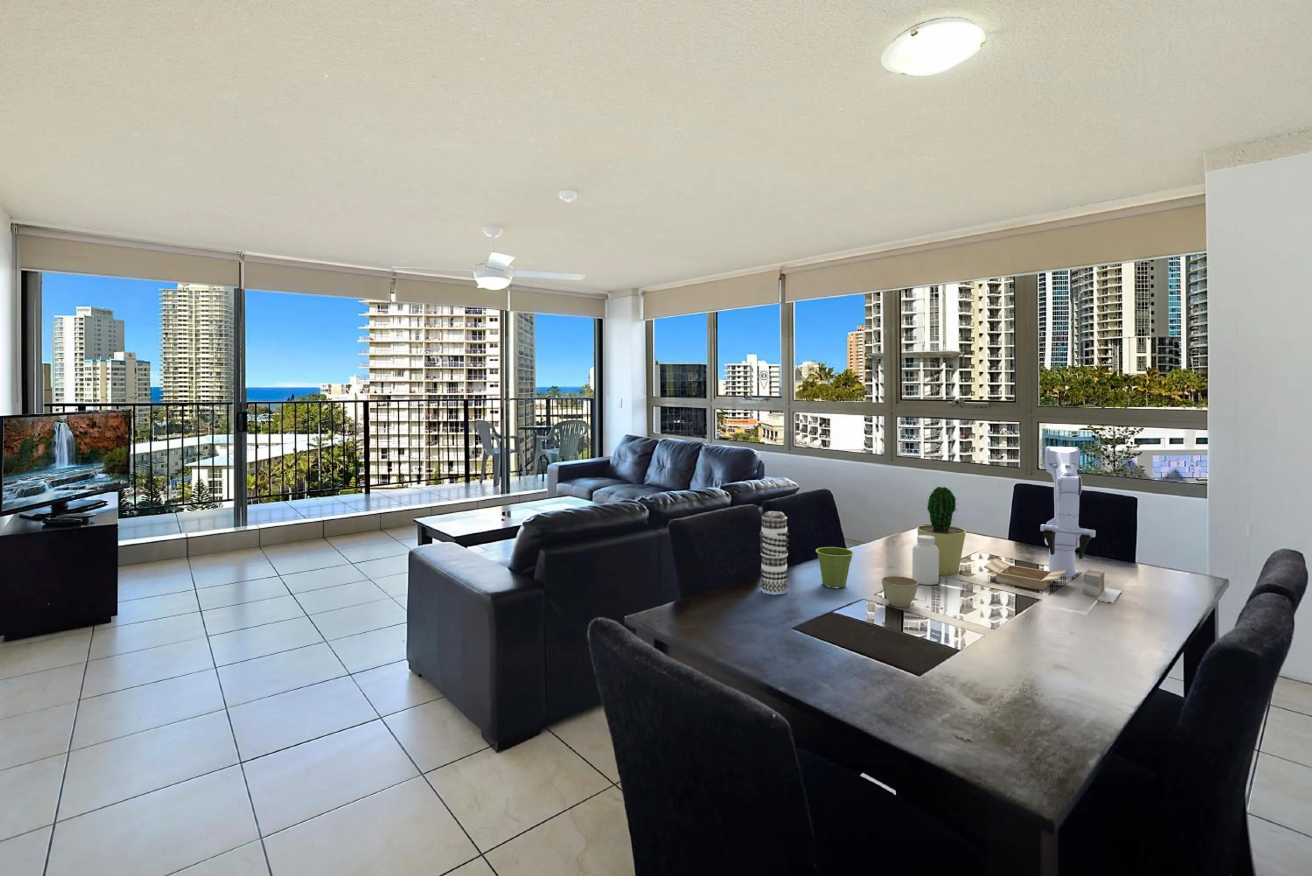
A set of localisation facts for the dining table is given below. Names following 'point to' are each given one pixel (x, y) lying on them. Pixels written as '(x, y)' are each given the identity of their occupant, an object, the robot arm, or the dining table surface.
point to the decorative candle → (774, 552)
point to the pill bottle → (925, 561)
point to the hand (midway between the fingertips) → (1066, 556)
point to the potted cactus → (944, 530)
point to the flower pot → (899, 590)
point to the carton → (1023, 575)
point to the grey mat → (1109, 595)
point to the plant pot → (834, 565)
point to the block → (1093, 582)
